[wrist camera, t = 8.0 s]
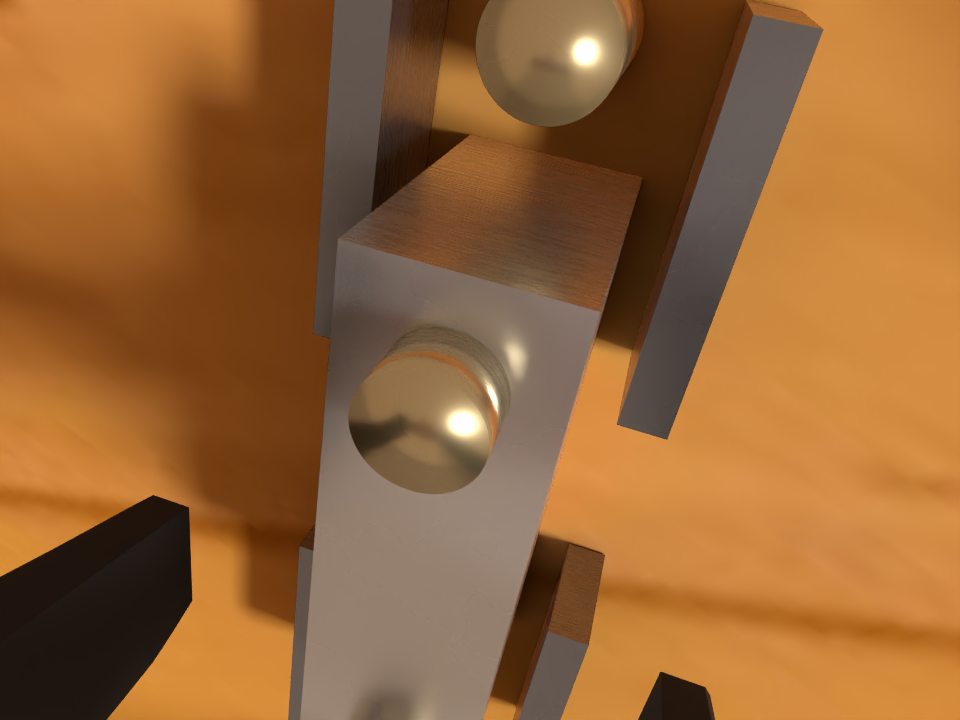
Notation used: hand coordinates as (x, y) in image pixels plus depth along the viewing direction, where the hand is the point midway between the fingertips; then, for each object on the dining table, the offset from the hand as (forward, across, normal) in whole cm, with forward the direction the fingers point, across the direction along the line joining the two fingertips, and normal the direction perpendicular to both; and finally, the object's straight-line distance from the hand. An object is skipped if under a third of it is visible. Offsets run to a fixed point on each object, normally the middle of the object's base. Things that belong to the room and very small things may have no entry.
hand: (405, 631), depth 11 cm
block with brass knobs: (+6, 0, 0) cm, 6 cm away
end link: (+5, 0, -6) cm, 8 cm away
